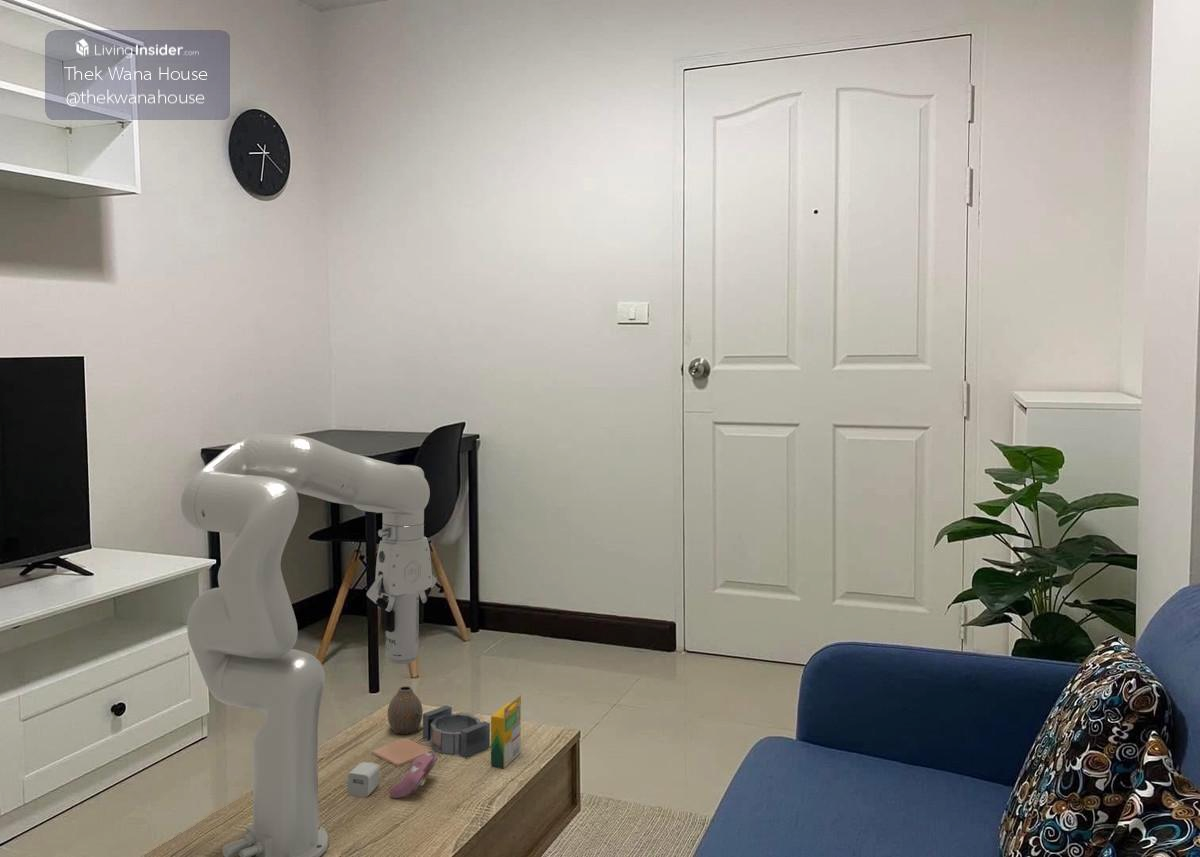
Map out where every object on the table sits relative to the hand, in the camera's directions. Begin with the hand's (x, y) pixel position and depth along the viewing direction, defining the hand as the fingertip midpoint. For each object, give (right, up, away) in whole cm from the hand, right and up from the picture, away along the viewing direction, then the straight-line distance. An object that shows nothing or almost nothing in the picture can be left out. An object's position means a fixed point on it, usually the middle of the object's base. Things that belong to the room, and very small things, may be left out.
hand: (402, 625), depth 179 cm
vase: (-2, -24, +13) cm, 27 cm away
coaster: (-1, -25, +3) cm, 25 cm away
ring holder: (+9, -25, +8) cm, 27 cm away
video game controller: (+4, -27, -11) cm, 29 cm away
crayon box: (+19, -26, +1) cm, 32 cm away
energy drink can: (0, -7, +1) cm, 7 cm away
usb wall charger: (-4, -26, -11) cm, 29 cm away
